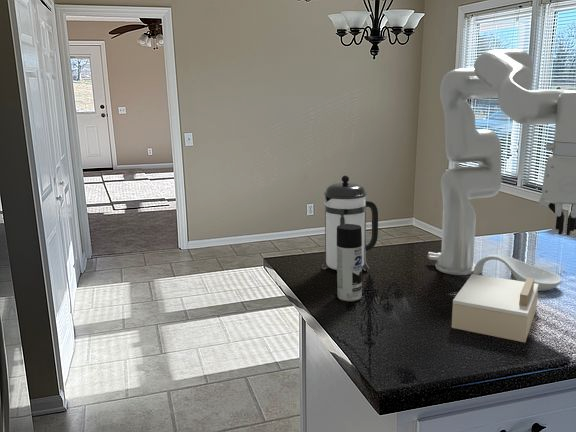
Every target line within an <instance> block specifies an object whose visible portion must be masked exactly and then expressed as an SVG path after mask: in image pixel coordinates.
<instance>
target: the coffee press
mask: <svg viewBox="0 0 576 432" xmlns="http://www.w3.org/2000/svg"><path fill="white" fill-rule="evenodd" d="M349 181H350V178H349V176H348V175H343V176H341V182H337V183H336V182H335V183H332V184H330V185H328V186H327V187H326V190H325V191H324V193H323V194H324V195H323V196H324V198H323V199H324V200H323V205H324V233H325V234H324V236H325V237H324V239H325V241H324V245H325V246H324V250H325V253H324V254H325V256H324V257H325V258H324V259H325V260H324V262H323V264H322V266H321V269H322V270H326V269H328V268H330V269H332V270H336V271H337V226H339V225H342V224H355V225H360V226H361V231H362V271H364V272H365V271H366V270H367V272H366V273H368V272H369V271H370V267H369V265H368V263H367V259H366V258H367V256H366V255H367V254H366V253H367V252H368V251H370V250H371V249H373V248H374V247H375V246H376V244H377V241H378V238H379V237H378V236H379V211H378V207H377V205H376V203H374V202H373V201H369V200H366V198H367V195H368V194H367V191H366V189H365V188H364V185H361V184H359V183H356V182H355V183H354V182H349ZM367 208H370V212H371V238H370V241H369V242H368V244H366V243H367ZM325 263H326V265H327V266H326V267H324V265H325ZM364 265H365V266H366V267H367V269H366V268H365V267H364Z"/></svg>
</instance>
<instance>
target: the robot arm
mask: <svg viewBox="0 0 576 432" xmlns="http://www.w3.org/2000/svg"><path fill="white" fill-rule="evenodd" d="M533 69H534V63H533V59H532V57H531V55H530V54H529V53H528V52H526V50H523V49H491V50H486V51H484V52H483V53H481V54H479V56H478V57H477V58H476V59H475V61H474V63H473V67H463V68H455V69H452V70H450V71H448V72H447V73H446V74H445V75H444V76H443V78H442V80H441V83H440V87H439V95H440V96H439V97H440V102H441V106H442V110H443V114H444V135H445V136H444V137H445V138H444V139H445V155H446V156H445V157H446V158H447V160H448V161H449V162H452V163H459V164H461V163H478V166H464V167H463V166H459V167H454V168H450V169H448V170H445V171H444V173H443V174H442V176H441V178H440V189H441V194H442V195H441V196H442V228H441V231H442V233H441V248H440V249H441V252H437V253H436V252H433V251H428V253H427V258H428V259H429V260H430V261H436V263H435V269H436V270H438V272H441V273H444V274H448V275H452V276H453V275H454V276H468V275H470V276H471V275H472V274H473V272H474V268H475V266H476V264H477V263H475V262H474V254H475V253H474V252H475V237H476V221H477V220H476V219H477V217H476V211H475V208H474V207H473V205H472V204H471V202H470V200H473V199H483V198H484V199H485V198H492V197H494V196H497V194H498V193H499V192H500V190H501V186H502V144H501V139H500V138H499V136H498V134H497V133H496V132H495V131H493V130H491V129H477V128H476V113H475V112H474V109H473V108H472V106H471V105H470V104H469V102H468V101H467V100H469V99H474V100H475V99H479V100H480V99H495V98H497V101H498V105H499V108H500V111H502V113H503V114H504V115H506V116H507V117H508V118H510V119H511V120H512V121H514V122H516V123H518V124H521V125H525V126H533V125H534V126H535V125H554V126H555V127H554V137H553V142H552V143H546V144H545V151H549V152H551V153H552V154H551V155H548V158H547V160H546V164H545V168H544V175H543V180H542V187H541V188H542V189H541V195H540V198H539V201H538V204H539V205H540V206H544V207H545V208H549V210H551V211H552V212H553V213H554V215H555V216H556V221H555V230H558V235H563V232H564V223H565V217H566V216H565V214H564V211H563V204H564V205H572V207H571V211H570V212H569V215H568V216H567V220H566V230H565V231H566V232H565V235H566V236H570V235H571V232H575V225H576V90H571V89H533V90H530V88H531V87H532V84H533V79H534V76H533Z"/></svg>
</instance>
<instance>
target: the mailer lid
mask: <svg viewBox="0 0 576 432" xmlns="http://www.w3.org/2000/svg"><path fill="white" fill-rule="evenodd" d="M538 285H539V284H536V283H534V278H527V279H526V282H523V281H517V279H516V280H515V279H509V278H508V279H507V278H501V277H494V276H489V275H481V274H478V275H475V274H470V276H469V277H468V279H467V280H466V281H465V283H464V284H463V286H462V287H461V288H460V290H459V291H458V293H457V294H456V295H455V297H454V298H453V299H452V305H453V304H458V305H464V306H470V307H475V308H481V309H486V310H492V311H497V312H503V313H509V314H514V315H520V316H525V317H528V314H529V312H530V309H531V306H532V303H533V300H534V298H535V295H536V292H537V289H538Z"/></svg>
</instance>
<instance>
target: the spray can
mask: <svg viewBox="0 0 576 432" xmlns="http://www.w3.org/2000/svg"><path fill="white" fill-rule="evenodd" d="M336 272H337V273H336V282H337V283H336V285H337V288H336V289H337V298H338V299H339V300H341V301H345V302H357V301H358V300H361V299H362V298H363V297H362V295H363V294H362V293H363V269H362V231H361V226H360V225H355V224H342V225H339V226H337V270H336Z"/></svg>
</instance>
